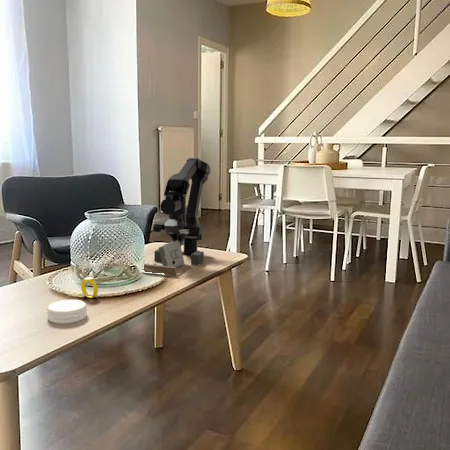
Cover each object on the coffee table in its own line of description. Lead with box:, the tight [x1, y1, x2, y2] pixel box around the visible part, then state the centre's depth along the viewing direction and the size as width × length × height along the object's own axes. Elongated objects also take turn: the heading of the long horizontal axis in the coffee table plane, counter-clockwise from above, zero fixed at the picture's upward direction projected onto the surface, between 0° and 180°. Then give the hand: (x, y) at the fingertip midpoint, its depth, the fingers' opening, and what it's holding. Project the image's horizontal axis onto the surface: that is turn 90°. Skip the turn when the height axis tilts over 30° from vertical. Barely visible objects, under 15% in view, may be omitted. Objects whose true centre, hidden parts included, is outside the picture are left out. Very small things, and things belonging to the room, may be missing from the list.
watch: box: [80, 276, 99, 299], centre depth 145 cm, size 6×3×6 cm, turn 55°
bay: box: [142, 263, 191, 277], centre depth 175 cm, size 12×14×3 cm
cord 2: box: [190, 250, 205, 266], centre depth 186 cm, size 6×3×4 cm, turn 164°
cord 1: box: [153, 248, 165, 263], centre depth 190 cm, size 6×3×4 cm, turn 164°
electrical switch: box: [158, 240, 185, 268], centre depth 181 cm, size 9×5×9 cm, turn 150°
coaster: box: [46, 299, 88, 325], centre depth 129 cm, size 10×10×4 cm
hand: (178, 250), depth 187 cm, fingers closed
